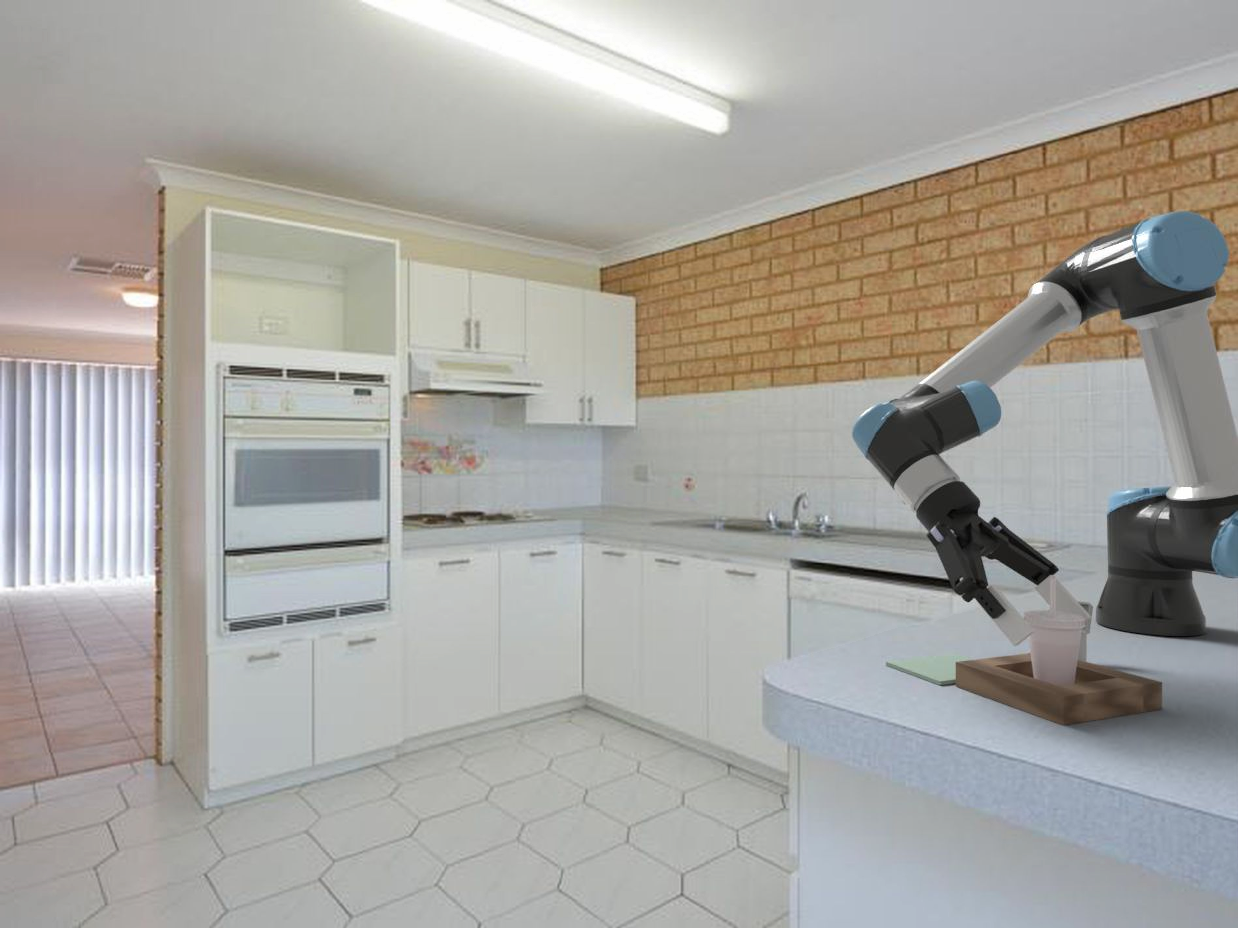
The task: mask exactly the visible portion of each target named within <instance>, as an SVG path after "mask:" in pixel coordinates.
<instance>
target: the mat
mask: <svg viewBox="0 0 1238 928" xmlns="http://www.w3.org/2000/svg"><path fill="white" fill-rule="evenodd" d="M969 660H975V659H973V658H970V657H967V656H964V655H961V654H957V653H949V654H941V655H933V656H923V657H915V658H907V659H906V658H904V659H895V660H888V661H885V666H887V667H888V668H892V669H895V670H898V671H901V672H902V673H906V674H908V675H911V676H914V677H916V678H919V679H922V680H924V681H926V682H930V683H932V684H936V685H938V686H946V685H953V684H956V662H960V661H969Z"/></svg>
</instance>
